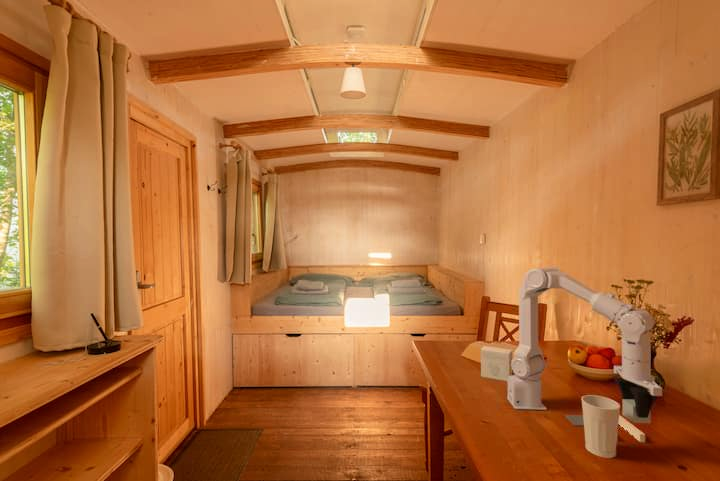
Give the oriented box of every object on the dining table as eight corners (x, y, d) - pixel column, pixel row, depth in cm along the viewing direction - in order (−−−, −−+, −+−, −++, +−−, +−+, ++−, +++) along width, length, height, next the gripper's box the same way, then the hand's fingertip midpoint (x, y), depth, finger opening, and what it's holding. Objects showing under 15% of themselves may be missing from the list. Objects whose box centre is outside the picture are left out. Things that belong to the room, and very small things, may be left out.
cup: (574, 442, 93) (574, 395, 93) (603, 440, 94) (603, 394, 94) (597, 460, 85) (597, 410, 85) (628, 459, 86) (628, 408, 86)
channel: (612, 441, 93) (612, 433, 93) (583, 415, 107) (583, 408, 107) (645, 442, 93) (645, 434, 93) (611, 416, 106) (611, 409, 106)
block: (633, 422, 88) (633, 406, 88) (622, 414, 92) (622, 399, 92) (650, 423, 88) (650, 406, 88) (639, 415, 92) (639, 399, 92)
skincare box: (512, 376, 137) (512, 349, 137) (509, 382, 132) (509, 353, 132) (484, 371, 143) (484, 344, 143) (480, 376, 138) (480, 349, 138)
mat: (574, 425, 101) (574, 424, 101) (564, 416, 107) (564, 414, 107) (595, 426, 101) (595, 425, 101) (584, 416, 106) (584, 415, 106)
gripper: (676, 369, 83) (676, 428, 83) (633, 349, 97) (633, 399, 97) (643, 368, 83) (643, 427, 83) (605, 349, 98) (605, 399, 98)
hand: (636, 412), depth 90 cm, fingers closed on block, 4 cm apart
